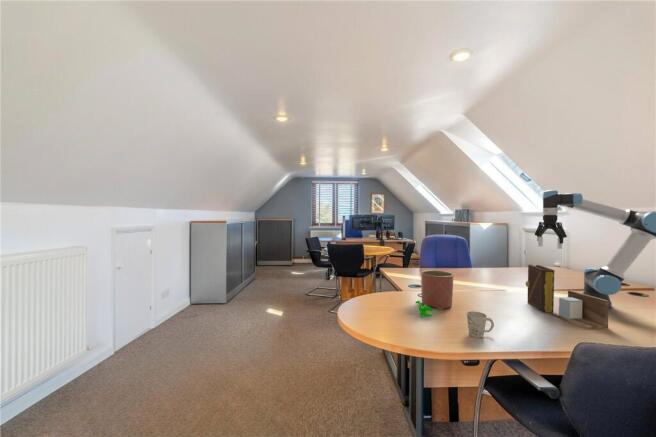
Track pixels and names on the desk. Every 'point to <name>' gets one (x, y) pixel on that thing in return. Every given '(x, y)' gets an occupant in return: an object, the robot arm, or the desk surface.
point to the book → (541, 288)
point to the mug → (478, 324)
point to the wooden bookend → (589, 311)
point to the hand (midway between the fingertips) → (549, 247)
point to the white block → (570, 308)
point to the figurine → (424, 310)
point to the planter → (437, 288)
